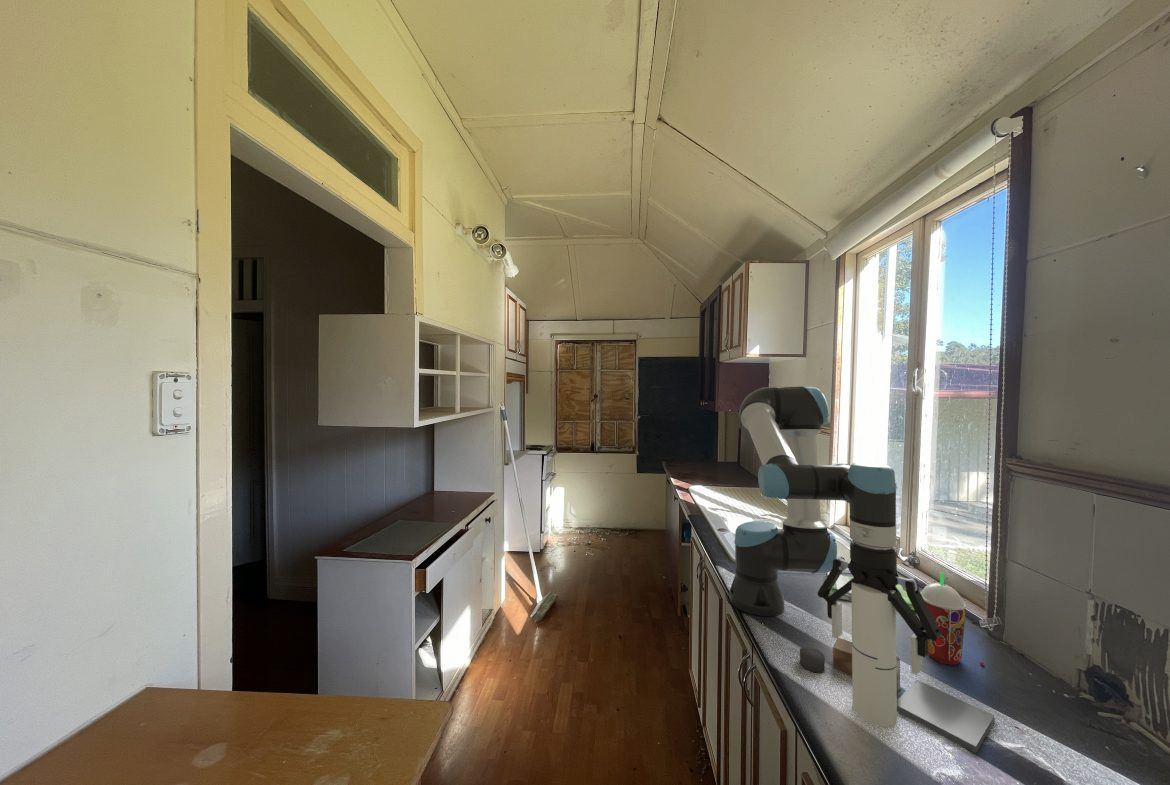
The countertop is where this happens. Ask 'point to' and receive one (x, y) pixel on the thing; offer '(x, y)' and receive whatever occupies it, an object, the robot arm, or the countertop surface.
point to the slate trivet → (946, 715)
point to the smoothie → (945, 621)
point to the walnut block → (842, 656)
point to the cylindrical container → (874, 656)
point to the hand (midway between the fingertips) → (874, 652)
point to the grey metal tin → (898, 673)
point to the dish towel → (848, 596)
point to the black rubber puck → (812, 660)
